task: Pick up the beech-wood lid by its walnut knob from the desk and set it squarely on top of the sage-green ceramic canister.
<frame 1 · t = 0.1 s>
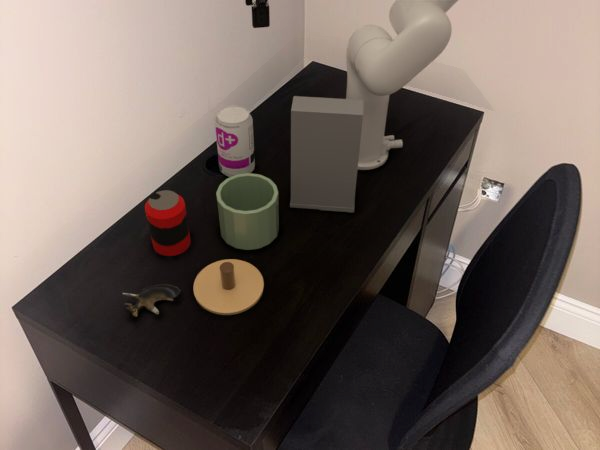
hand: (257, 15, 116), 37 cm above the table, tool pointing down, fingers open, 9 cm apart
eagle figurine: (154, 309, 111), on the table
lid: (228, 287, 114), point 1 cm above the table
supplement can: (237, 169, 141), on the table
soda can: (172, 244, 123), on the table
tall grey box: (322, 202, 133), on the table
canister: (249, 230, 126), on the table
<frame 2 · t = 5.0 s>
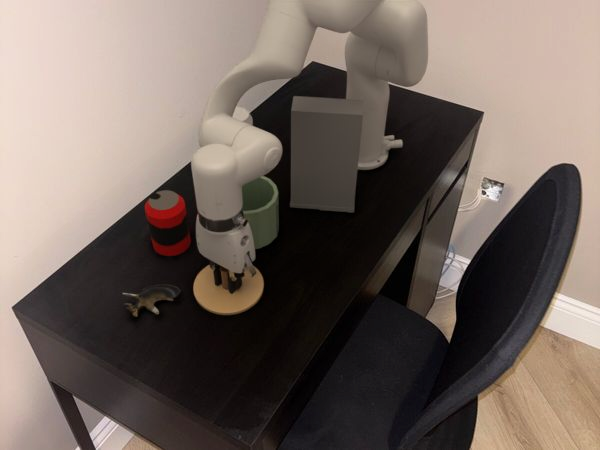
hand: (228, 284, 113), 1 cm above the table, tool pointing down, fingers closed on lid, 2 cm apart
lid: (228, 287, 114), point 1 cm above the table, touching gripper
everything else where it was.
when the fingers open (11 cm above the table, at t = 10.7 s): lid stays where it is, resting on canister.
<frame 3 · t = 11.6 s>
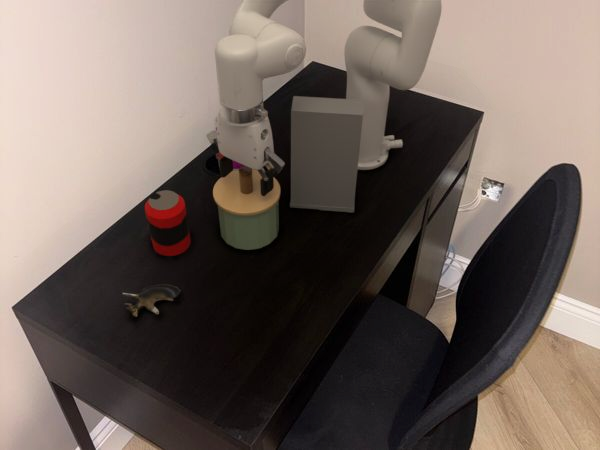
hand: (246, 182, 117), 13 cm above the table, tool pointing down, fingers open, 9 cm apart
lid: (246, 192, 119), point 10 cm above the table, touching canister
everything else where it was.
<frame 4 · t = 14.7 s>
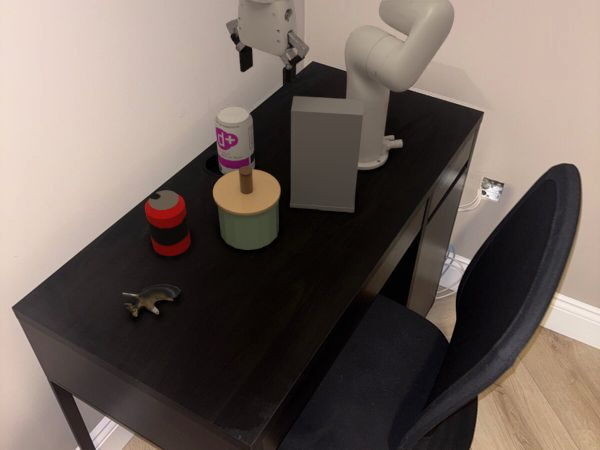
hand: (267, 76, 112), 30 cm above the table, tool pointing down, fingers open, 9 cm apart
nothing on the table moved.
at the end: lid 0.1 cm off-centre on the canister, point 10.5 cm above the canister's base; lid tilted 0°; the gripper is holding nothing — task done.
